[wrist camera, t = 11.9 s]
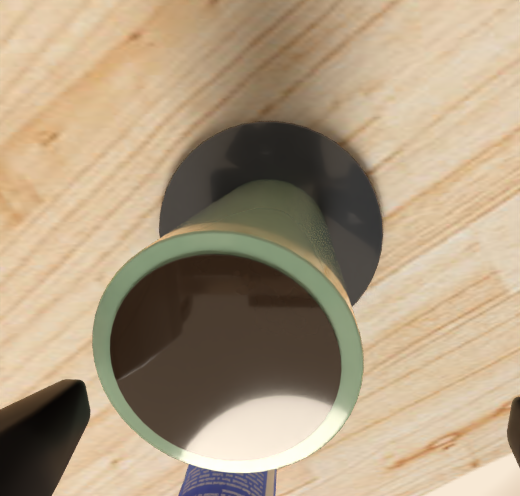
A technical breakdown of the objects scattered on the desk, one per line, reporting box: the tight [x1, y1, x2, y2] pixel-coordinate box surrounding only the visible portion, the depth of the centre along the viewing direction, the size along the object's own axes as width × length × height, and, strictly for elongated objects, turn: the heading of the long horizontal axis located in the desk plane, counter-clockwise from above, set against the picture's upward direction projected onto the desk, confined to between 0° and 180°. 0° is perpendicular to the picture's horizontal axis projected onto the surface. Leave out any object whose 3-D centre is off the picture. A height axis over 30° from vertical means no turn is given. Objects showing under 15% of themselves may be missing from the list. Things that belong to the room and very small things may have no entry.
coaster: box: [159, 121, 383, 306], centre depth 20 cm, size 12×12×1 cm
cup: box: [92, 179, 364, 473], centre depth 14 cm, size 13×6×13 cm
